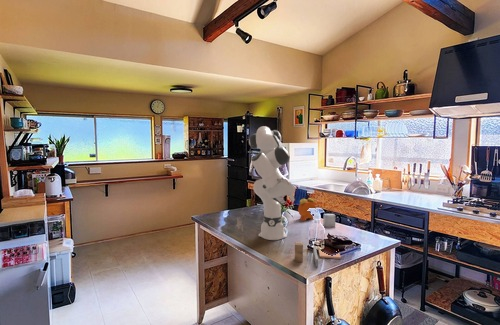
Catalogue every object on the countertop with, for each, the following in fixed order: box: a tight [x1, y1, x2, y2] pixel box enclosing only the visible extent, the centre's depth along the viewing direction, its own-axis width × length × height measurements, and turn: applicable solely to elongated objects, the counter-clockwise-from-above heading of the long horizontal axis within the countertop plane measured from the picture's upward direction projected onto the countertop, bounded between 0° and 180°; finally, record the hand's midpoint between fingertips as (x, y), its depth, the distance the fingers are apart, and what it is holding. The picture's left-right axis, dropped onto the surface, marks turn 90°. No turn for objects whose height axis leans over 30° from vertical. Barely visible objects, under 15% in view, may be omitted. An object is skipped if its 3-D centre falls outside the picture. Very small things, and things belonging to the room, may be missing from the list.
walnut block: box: [294, 241, 304, 263], centre depth 149 cm, size 4×4×9 cm
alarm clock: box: [297, 197, 316, 222], centre depth 226 cm, size 13×6×20 cm, turn 115°
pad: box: [318, 250, 342, 260], centre depth 158 cm, size 12×11×1 cm
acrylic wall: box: [313, 245, 319, 268], centre depth 150 cm, size 18×1×4 cm, turn 170°
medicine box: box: [322, 213, 336, 228], centre depth 208 cm, size 8×4×9 cm, turn 92°
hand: (288, 202), depth 147 cm, fingers open, 8 cm apart
